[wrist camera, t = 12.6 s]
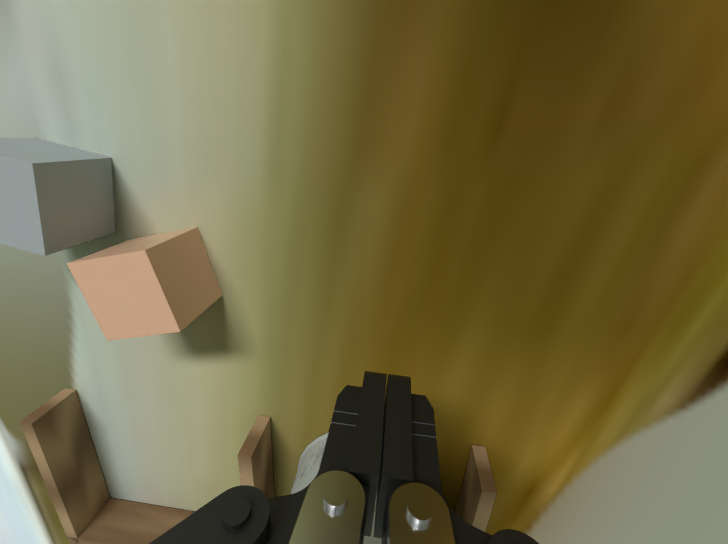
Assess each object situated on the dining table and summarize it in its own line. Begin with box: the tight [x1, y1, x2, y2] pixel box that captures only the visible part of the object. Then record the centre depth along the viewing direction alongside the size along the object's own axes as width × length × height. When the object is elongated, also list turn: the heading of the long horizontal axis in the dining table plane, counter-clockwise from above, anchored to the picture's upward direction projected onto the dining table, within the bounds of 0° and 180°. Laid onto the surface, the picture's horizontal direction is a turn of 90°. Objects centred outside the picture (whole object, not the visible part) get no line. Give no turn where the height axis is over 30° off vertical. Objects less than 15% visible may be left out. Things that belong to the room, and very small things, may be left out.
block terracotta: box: [67, 227, 222, 340], centre depth 17 cm, size 4×4×4 cm
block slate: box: [0, 138, 115, 256], centre depth 16 cm, size 4×4×4 cm
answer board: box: [20, 389, 497, 544], centre depth 23 cm, size 12×28×3 cm, turn 86°
